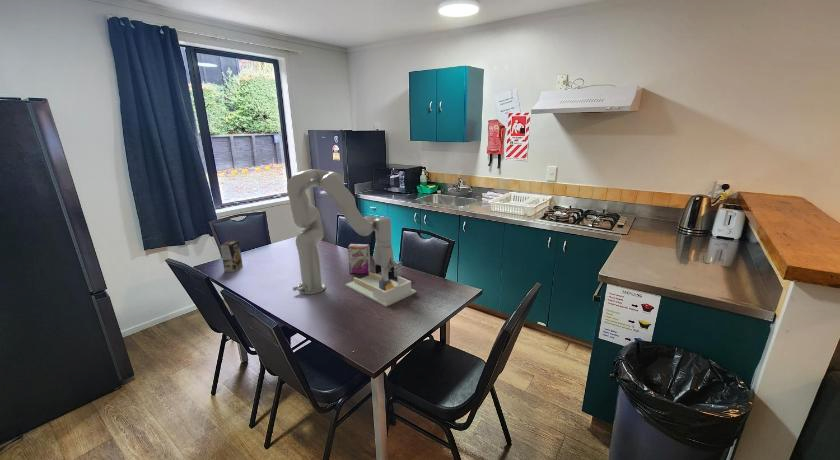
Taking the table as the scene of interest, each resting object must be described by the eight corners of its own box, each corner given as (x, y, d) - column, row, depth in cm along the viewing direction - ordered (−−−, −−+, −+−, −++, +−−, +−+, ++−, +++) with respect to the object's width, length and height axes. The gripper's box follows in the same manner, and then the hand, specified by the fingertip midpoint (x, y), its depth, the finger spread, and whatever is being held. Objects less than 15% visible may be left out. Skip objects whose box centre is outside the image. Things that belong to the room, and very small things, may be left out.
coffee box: (235, 271, 198) (230, 245, 193) (224, 271, 198) (219, 245, 193) (243, 265, 206) (239, 240, 202) (232, 265, 206) (228, 240, 202)
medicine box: (386, 276, 191) (385, 261, 189) (390, 273, 195) (390, 259, 193) (398, 278, 188) (397, 264, 186) (402, 276, 192) (402, 261, 189)
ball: (387, 284, 167) (382, 285, 170) (390, 293, 167) (384, 293, 170) (394, 281, 170) (388, 282, 173) (397, 290, 170) (391, 290, 173)
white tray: (385, 306, 158) (385, 295, 157) (345, 285, 180) (344, 275, 178) (416, 292, 172) (416, 281, 170) (375, 274, 193) (375, 264, 192)
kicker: (382, 291, 170) (381, 263, 165) (378, 289, 172) (377, 261, 168) (391, 287, 174) (391, 259, 170) (387, 286, 176) (386, 258, 172)
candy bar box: (349, 273, 195) (347, 246, 190) (351, 270, 200) (350, 243, 195) (368, 274, 194) (367, 246, 189) (370, 271, 198) (369, 244, 194)
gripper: (366, 240, 169) (367, 272, 174) (389, 248, 158) (390, 282, 162) (378, 237, 174) (379, 268, 179) (401, 244, 163) (402, 278, 168)
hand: (384, 275), depth 171 cm, fingers open, 9 cm apart
